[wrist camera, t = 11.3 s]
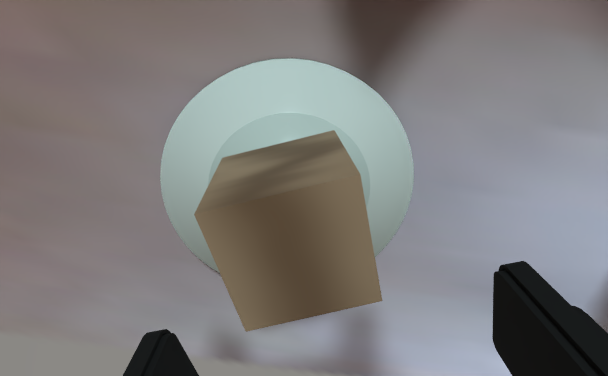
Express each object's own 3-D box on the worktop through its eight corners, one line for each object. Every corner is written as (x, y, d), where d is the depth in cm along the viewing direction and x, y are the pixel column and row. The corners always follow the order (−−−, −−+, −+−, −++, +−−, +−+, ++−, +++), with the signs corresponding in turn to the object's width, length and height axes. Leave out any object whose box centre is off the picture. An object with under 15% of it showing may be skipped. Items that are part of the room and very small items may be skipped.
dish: (391, 26, 16) (401, 25, 15) (415, 251, 22) (423, 263, 21) (123, 96, 16) (110, 100, 15) (217, 297, 22) (213, 311, 21)
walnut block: (334, 129, 16) (360, 174, 11) (353, 226, 19) (382, 300, 14) (222, 157, 17) (193, 214, 11) (255, 249, 19) (246, 331, 14)
